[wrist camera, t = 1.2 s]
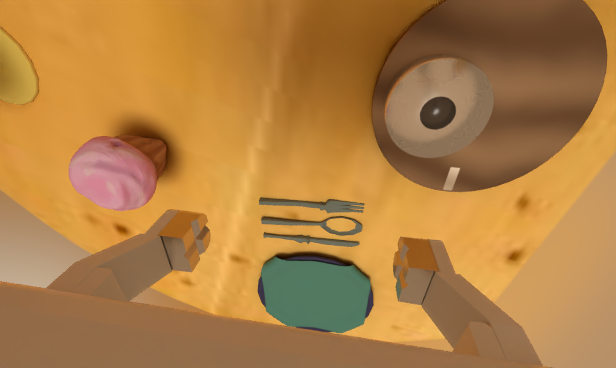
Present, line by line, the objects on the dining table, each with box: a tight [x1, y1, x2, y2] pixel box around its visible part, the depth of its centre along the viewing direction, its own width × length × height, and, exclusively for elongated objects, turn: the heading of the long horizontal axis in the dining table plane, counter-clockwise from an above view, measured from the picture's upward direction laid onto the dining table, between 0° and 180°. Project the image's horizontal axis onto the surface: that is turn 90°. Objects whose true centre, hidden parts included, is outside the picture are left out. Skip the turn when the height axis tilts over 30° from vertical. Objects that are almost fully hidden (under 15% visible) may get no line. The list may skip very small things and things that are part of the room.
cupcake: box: [69, 135, 167, 211], centre depth 33 cm, size 9×9×10 cm
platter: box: [372, 0, 607, 192], centre depth 27 cm, size 20×20×1 cm
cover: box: [383, 54, 494, 158], centre depth 26 cm, size 9×9×3 cm
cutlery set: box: [258, 198, 373, 333], centre depth 45 cm, size 20×30×2 cm, turn 0°
